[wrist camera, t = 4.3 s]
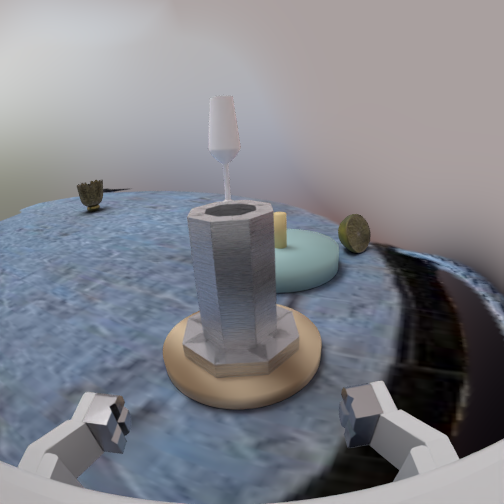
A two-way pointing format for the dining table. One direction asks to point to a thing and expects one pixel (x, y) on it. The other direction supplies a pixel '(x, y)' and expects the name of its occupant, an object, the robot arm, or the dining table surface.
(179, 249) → the dining table surface
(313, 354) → the stand
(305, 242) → the hub
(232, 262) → the sleeve
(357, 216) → the lime
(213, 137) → the champagne flute
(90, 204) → the cup
